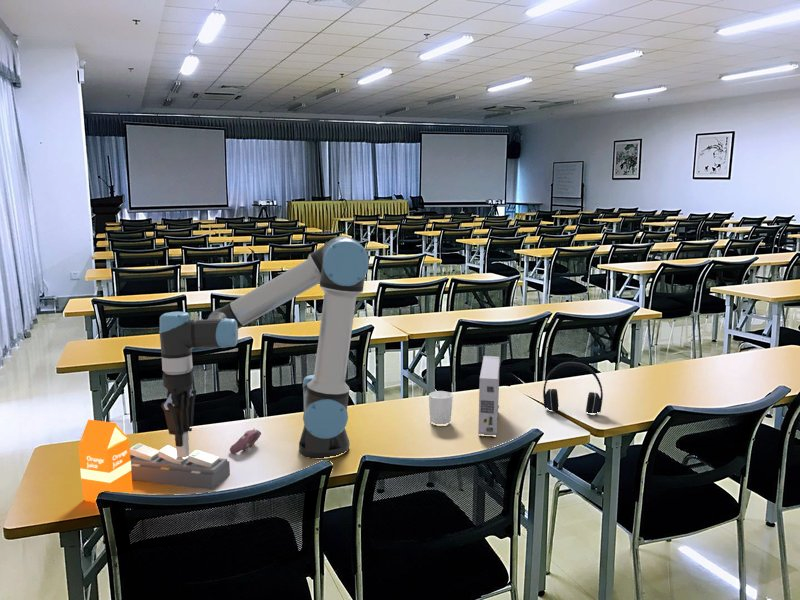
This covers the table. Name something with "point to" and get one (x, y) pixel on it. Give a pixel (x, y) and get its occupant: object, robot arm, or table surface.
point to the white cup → (440, 407)
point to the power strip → (179, 472)
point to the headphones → (593, 398)
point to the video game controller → (245, 441)
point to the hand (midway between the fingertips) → (183, 455)
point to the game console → (489, 395)
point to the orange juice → (104, 460)
